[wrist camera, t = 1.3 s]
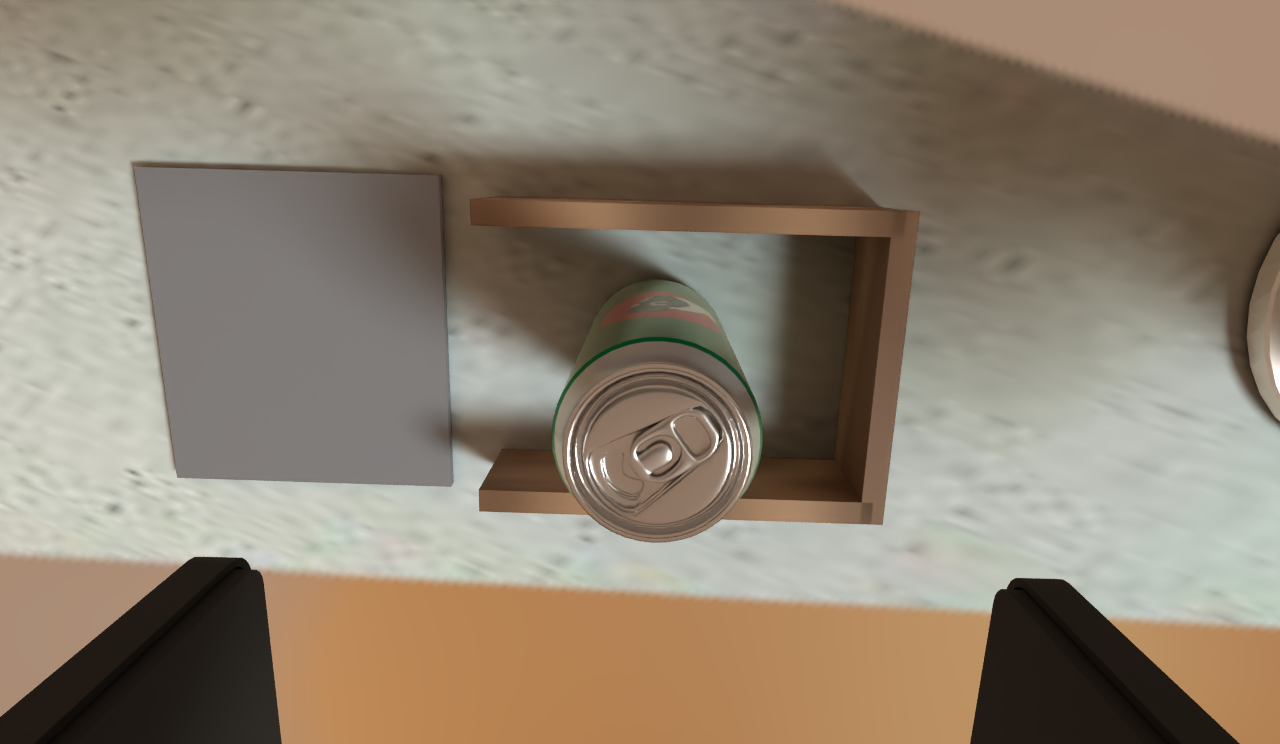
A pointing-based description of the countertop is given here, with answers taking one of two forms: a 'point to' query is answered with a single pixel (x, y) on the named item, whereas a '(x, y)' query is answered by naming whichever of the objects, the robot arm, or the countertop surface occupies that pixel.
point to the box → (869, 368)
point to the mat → (301, 323)
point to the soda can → (657, 417)
